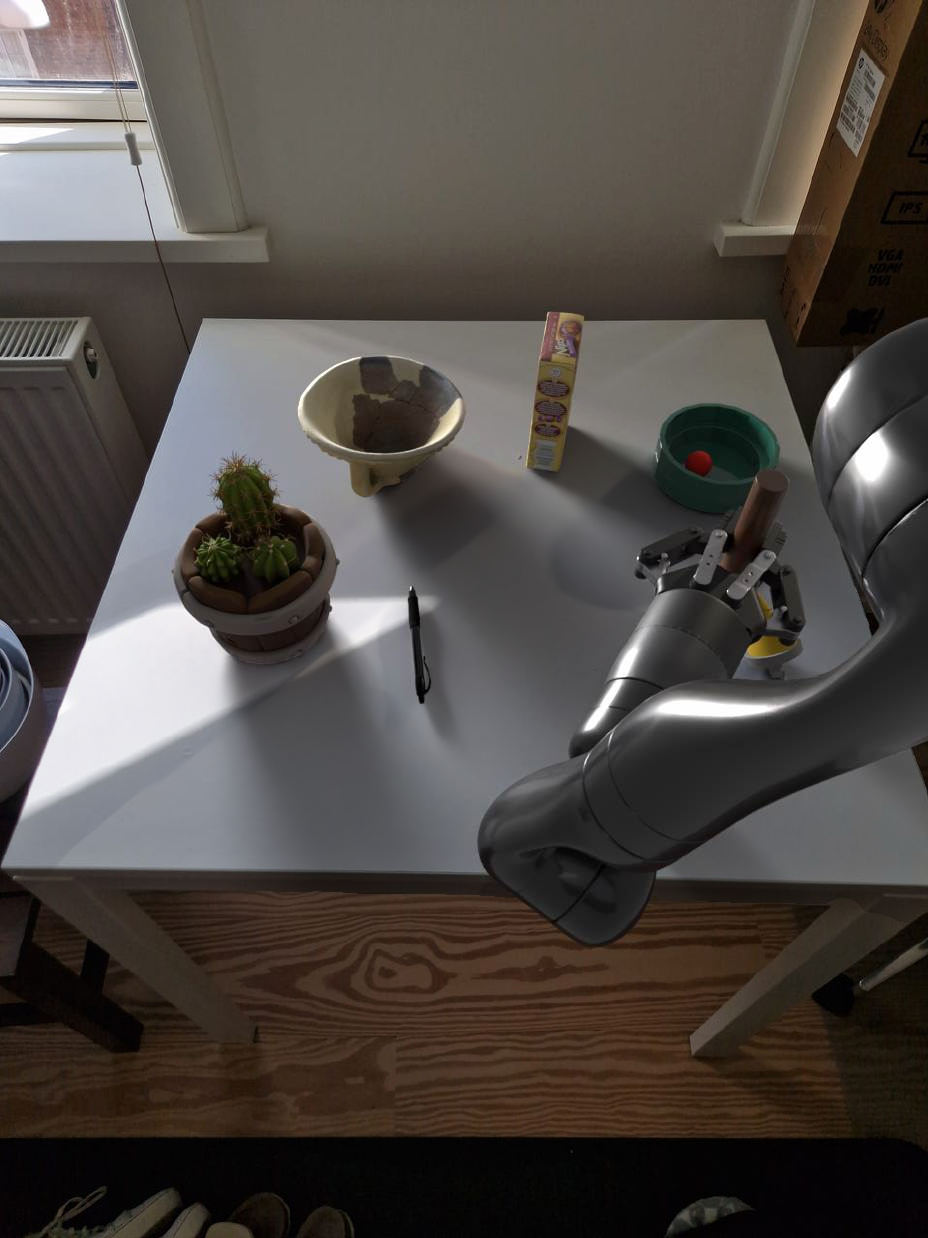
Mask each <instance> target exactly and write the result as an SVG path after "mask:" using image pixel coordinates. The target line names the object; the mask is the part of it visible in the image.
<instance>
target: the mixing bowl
mask: <svg viewBox="0 0 928 1238" xmlns="http://www.w3.org/2000/svg"><path fill="white" fill-rule="evenodd" d="M657 438H658V439H657V442H656V447H655V449H654V455H653V459H652V463H651V466H652V467H651V468H652V473H653V477H654V479H655V481H656V482H657V484H658V486H659V487H660V488H661V490H662V491H663V492H664V493H665V494H667V495H668V496H669V497H670V498H671V499H672V500H674V501H675V502H677V503H679V504H680V505H683V506H685V507H687V508H690V509H692V510H694V511H695V510H696V511H700V512H703V513H704V512H705V513H709V514H725V513H726V512H727V511H729V510H731V509H732V510H734V511H737V509H738V508H739V506H741V507H743V508H744V505H745V503H746V500H747V498H748V495H749V493H750V490H751V488H752V485H753V483H754V480H755V478H756V475H757V474H758V473H759V472H760V471H762V470H765V469H772V470H777V467H778V464H779V462H780V461H779V460H780V453H781V447H780V442H779V439H778V436H777V434H776V433H775V432H774V431H773V430H772V428H771V427H770V426H769V424H767V423H766V422H765V421H763V420H762V419H761V418H759V417H758V416H757V415H755V414H754V413H752V412H750V411H747V410H745V409H742V408H740V407H737V406H734V405H728V404H724V403H721V402H720V403H719V402H717V403H716V402H700V403H694V404H691V405H687V406H683V407H681V408H679V409H677V410H676V411H674V412H672V413H671V414H669V416H668V417H667V418H666V419H665V420H664V421H663V423H662V424H661V427H660V431H659V435H658V437H657ZM696 451H703V452H706V453H707V454H708V455H709V456H710V457H711V459H712V469H711V471H710V472H709V473H708V474H707V475H706V476H704V477H702V476H700V475H698V474H696V473H693V472H691V471H689V470H687V469H686V468H685V462H686V459H687V458H688V456H689V455H690V454H691V453H693V452H696Z"/></svg>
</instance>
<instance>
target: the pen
mask: <svg viewBox="0 0 928 1238" xmlns="http://www.w3.org/2000/svg"><path fill="white" fill-rule="evenodd" d="M407 606H408V624H409V629H410V632H411V645H412V659H413V669H414V671H413V672H414V687H415V694H416V697H417V698H418V699H417V700H418V703H419V704H420V705H423V704H425V702H426V695H427V694H428V693H429V692H430V691H431V688H432V674H431V670H430V668H429V666H428V664H427V662H426V660H427V658H426V655H425V654H423V647H422V646H423V645H422V637H421V614H420V606H419V597H418V596H417V591H416V589H415V587H414V586H413V585H410V586H409V589H408V597H407ZM424 669H425V670H424ZM425 671H426V674H427V678H428V683H427V684H428V685H426V678H425Z"/></svg>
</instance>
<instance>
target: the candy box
mask: <svg viewBox="0 0 928 1238" xmlns="http://www.w3.org/2000/svg"><path fill="white" fill-rule="evenodd" d="M584 320H585V316H584V315H581V314H577V313H570V312H569V313H568V312H557V311H556V312H555V311H549V312H547V315H546V320H545V321H546V322H545V328H544V333H543V339H542V346H541V349H540V350H541V351H540V354H539V359H538V366H537V367H538V368H537V374H536V383H535V389H534V390H535V391H534V398H533V405H532V406H533V407H532V415H531V422H530V423H531V424H530V432H529V438H528V439H529V441H528V448H527V456H526V462H525V463H526V464H525V467H526V468H527V469H534V470H541V471H548V472H555V473H559V472H560V469H561V464H562V458H563V453H564V449H565V448H564V447H565V442H566V437H567V433H568V425H569V421H570V416H571V409H572V403H573V397H574V392H575V391H574V390H575V384H576V377H577V371H578V365H579V358H580V353H581V352H580V351H581V343H582V336H583V329H584V322H585V321H584Z"/></svg>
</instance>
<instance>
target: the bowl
mask: <svg viewBox="0 0 928 1238" xmlns="http://www.w3.org/2000/svg"><path fill="white" fill-rule="evenodd" d="M466 413H467V406H466V402H465V399H464V398H463V395H462V394H461V392H460V390H459V389H458V388H457V387H456V386H455V384H454V383H453V382H452V381H451V380H450V379H449V378H448V377H447V376H446V375H445V374H444V373H442V372H441V371H439V370H437V369H435V368H433V367H431V366H429V365H427V364H425V363H422V362H419V361H417V360H414V359H410V358H407V357H401V356H395V355H368V356H366V355H365V356H358V357H353V358H350V359H348V360H346V361H345V360H344V361H342V362H340V363H337V364H335V365H333V366H331V367H330V368H329V369H327V370H326V371H324V372H322V373H321V374H320V375H318V376H317V377H316V378H315V379H314V380H313V381H312V382H310V384H309V385H308V386H307V387H306V389H305V390H304V391H303V393H302V395H300V398H299V403H298V406H297V415H298V420H299V423H300V425H301V427H302V430H303V432H304V433H305V435H306V438H307V439H308V440H310V442H311V443H312V444H314V445H317V446H318V448H319V449H320V451H321V452H322V453H327V454H328V456H330V457H332V458H336V459H337V460H338V461H339V460H341V461H345V462H346V463H348V464H349V479H350V486H351V489H352V491H353V492H354V494H356V495H357V496H358V497H360V498H363V499H364V498H370V497H371V496H373V495H374V494H375V493H377V492H378V491H379V490H380V489H382V488H384V487H386V486H395V485H398V484H399V483H400V484H401V483H404V482H405V481H406V480H408V479H409V478H410V477H411V476H412V475H413V474H414V472H415V469H416V468H417V465H418V464H420V463H421V462H423V461H424V459H426V458H427V457H428V456H431V457H433V456H435V455H436V454H437V453H440V452H442V451H443V449H444V448H445V447H448V446H449V445H450V443H451V442H453V441H454V440H455V437H456V436H457V435H458V434H459V432H460V430H461V429H462V427H463V425H464V422H465V420H466V419H465V418H466Z"/></svg>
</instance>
